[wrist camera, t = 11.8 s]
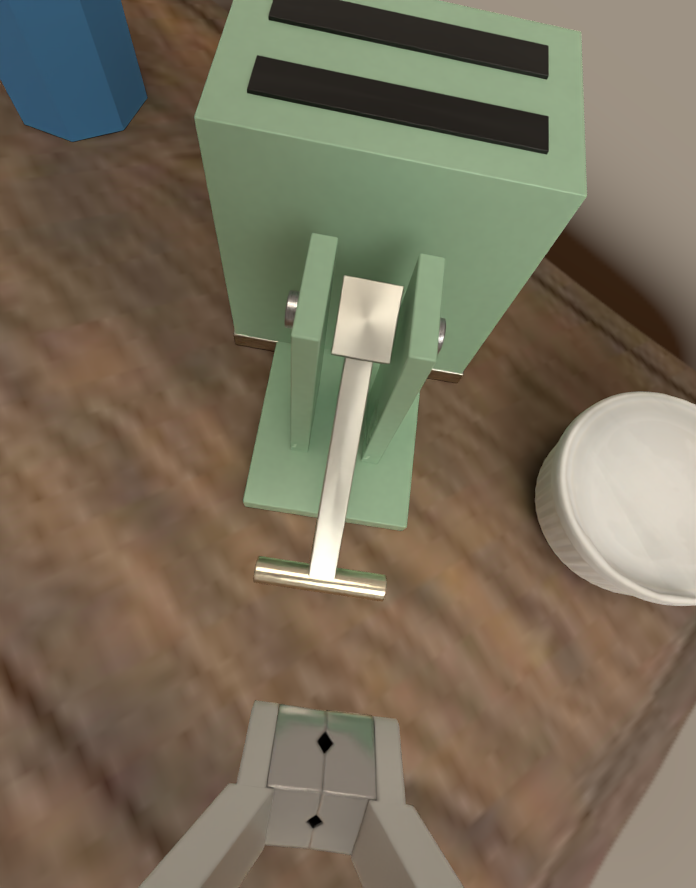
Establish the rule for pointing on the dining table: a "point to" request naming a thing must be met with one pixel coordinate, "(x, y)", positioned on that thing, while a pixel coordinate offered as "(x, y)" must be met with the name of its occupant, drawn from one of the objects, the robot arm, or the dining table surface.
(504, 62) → the toaster
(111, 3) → the water bottle
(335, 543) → the lever
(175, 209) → the dining table surface
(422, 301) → the switch bracket
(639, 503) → the ramekin
